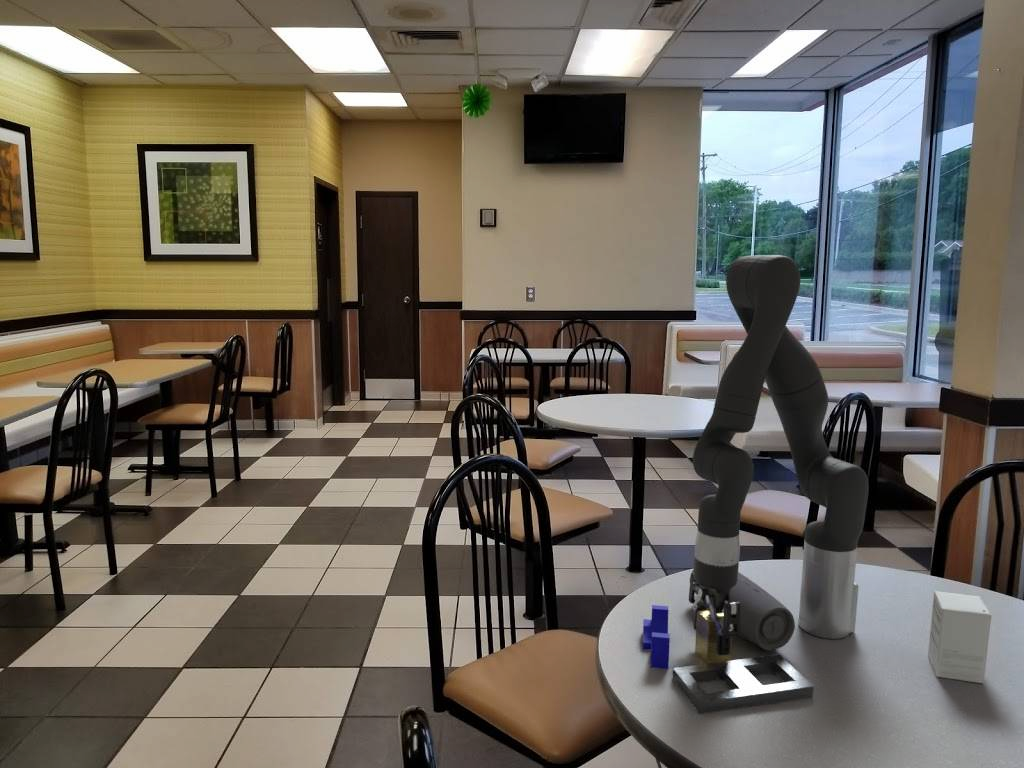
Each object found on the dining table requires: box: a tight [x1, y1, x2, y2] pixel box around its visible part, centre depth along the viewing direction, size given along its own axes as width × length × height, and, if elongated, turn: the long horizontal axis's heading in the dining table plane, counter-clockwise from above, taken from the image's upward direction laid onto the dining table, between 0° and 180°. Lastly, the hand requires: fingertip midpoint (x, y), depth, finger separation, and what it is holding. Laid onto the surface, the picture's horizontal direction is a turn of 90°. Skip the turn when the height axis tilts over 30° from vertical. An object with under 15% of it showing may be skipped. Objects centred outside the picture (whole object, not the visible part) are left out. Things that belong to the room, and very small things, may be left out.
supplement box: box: [927, 590, 992, 684], centre depth 129 cm, size 7×7×13 cm
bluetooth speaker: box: [689, 568, 796, 651], centre depth 144 cm, size 23×9×10 cm, turn 17°
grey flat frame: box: [671, 654, 815, 715], centre depth 125 cm, size 20×10×2 cm, turn 103°
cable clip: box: [642, 604, 671, 670], centre depth 136 cm, size 12×4×6 cm, turn 169°
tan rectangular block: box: [694, 609, 733, 664], centre depth 134 cm, size 4×4×8 cm
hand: (711, 641), depth 134 cm, fingers open, 8 cm apart
